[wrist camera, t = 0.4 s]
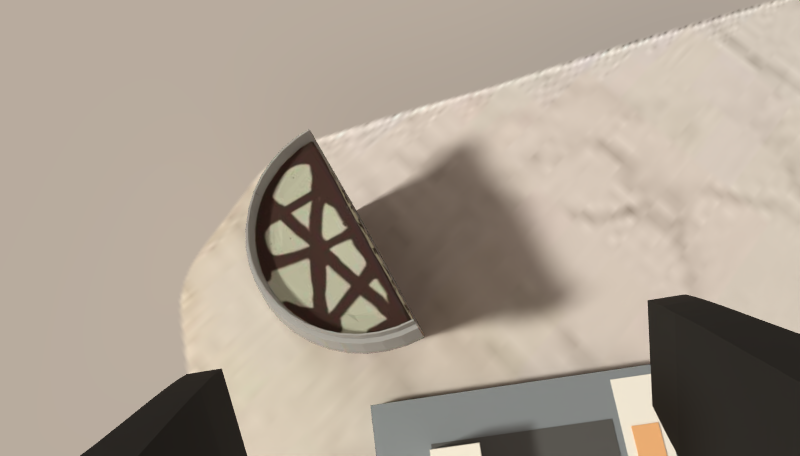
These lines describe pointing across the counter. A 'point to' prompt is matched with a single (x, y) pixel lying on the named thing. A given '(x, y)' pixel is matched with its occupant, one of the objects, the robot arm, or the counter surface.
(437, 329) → the counter surface
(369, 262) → the food container
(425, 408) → the switch board
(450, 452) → the tab
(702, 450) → the robot arm
